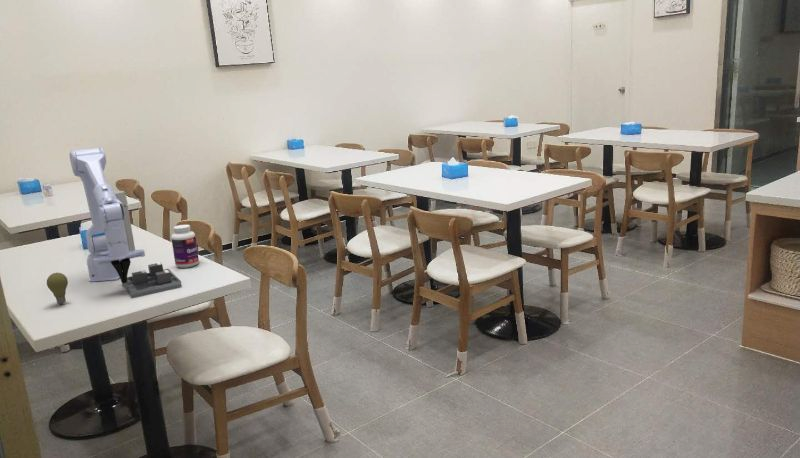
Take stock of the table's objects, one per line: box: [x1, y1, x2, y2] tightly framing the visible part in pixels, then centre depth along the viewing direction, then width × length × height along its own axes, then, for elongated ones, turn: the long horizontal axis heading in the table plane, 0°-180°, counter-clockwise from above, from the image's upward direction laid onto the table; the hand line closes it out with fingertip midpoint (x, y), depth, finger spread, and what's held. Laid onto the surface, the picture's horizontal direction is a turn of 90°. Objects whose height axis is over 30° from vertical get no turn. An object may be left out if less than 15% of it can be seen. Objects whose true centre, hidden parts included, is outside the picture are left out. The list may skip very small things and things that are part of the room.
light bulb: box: [46, 272, 69, 306], centre depth 185 cm, size 6×6×10 cm
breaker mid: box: [131, 269, 148, 285], centre depth 196 cm, size 4×3×4 cm
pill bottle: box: [170, 224, 200, 269], centre depth 216 cm, size 8×8×14 cm
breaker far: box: [147, 261, 164, 277], centre depth 203 cm, size 4×3×4 cm
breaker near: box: [155, 269, 172, 285], centre depth 194 cm, size 4×3×4 cm
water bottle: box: [113, 190, 136, 251], centre depth 231 cm, size 9×8×25 cm
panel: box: [121, 268, 182, 299], centre depth 198 cm, size 15×17×2 cm
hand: (124, 282), depth 193 cm, fingers closed
